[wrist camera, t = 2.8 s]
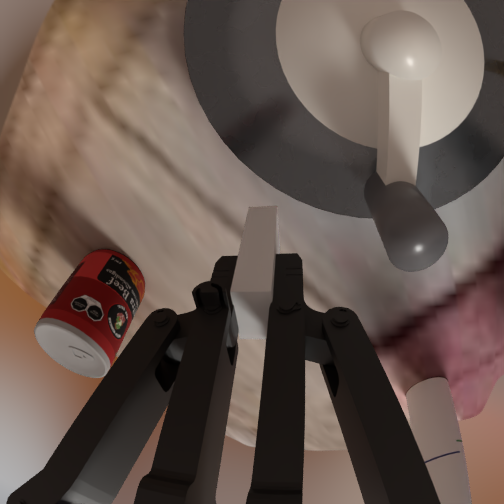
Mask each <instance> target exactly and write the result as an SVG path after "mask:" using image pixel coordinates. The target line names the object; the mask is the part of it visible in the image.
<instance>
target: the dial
mask: <svg viewBox="0 0 504 504" xmlns="http://www.w3.org/2000/svg"><path fill="white" fill-rule="evenodd" d="M276 45H277V51H278V56H279V60H280V63H281V66H282V69H283V72H284V74H285V76H286V78H287V81H288V83H289V85H290V86H291V88H292V90H293V91H294V93H295V94H296V96H297V98H298V99H299V100H300V101H301V103H302V104H303V105H304V106H305V108H306V109H307V110H308V111H309V112H310V113H311V114H312V115H313V116H314V117H315V118H316V119H317V120H319V121H320V122H321V123H322V124H324V125H325V126H326V127H327V128H329V129H331V130H332V131H334V132H335V133H337V134H338V135H340V136H342V137H344V138H346V139H348V140H350V141H352V142H355V143H358V144H361V145H364V146H368V147H372V148H377V168H376V172H374V173H373V174H372V175H371V176H370V177H369V179H368V180H367V182H366V184H365V187H364V198H365V201H366V204H367V206H368V208H369V210H370V213H371V215H372V217H373V220H374V222H375V225H376V227H377V229H378V232H379V234H380V237H381V239H382V242H383V244H384V247H385V249H386V252H387V255H388V257H389V260H390V261H391V263H392V264H393V265H394V266H395V267H397V268H398V269H401V270H403V271H409V272H414V271H420V270H423V269H426V268H428V267H430V266H431V265H433V264H434V263H435V262H436V261H438V260H439V258H440V257H441V256H442V255H443V253H444V251H445V249H446V247H447V244H448V231H447V228H446V226H445V224H444V223H443V221H442V220H441V218H440V217H439V216H438V214H437V213H436V211H435V210H434V209H433V207H432V206H431V205H430V203H429V202H428V201H427V199H426V198H425V197H424V196H423V194H422V193H421V192H420V190H419V189H418V188H417V187H416V177H417V168H418V158H419V147H422V146H426V145H429V144H431V143H433V142H436V141H438V140H440V139H441V138H443V137H445V136H446V135H448V134H449V133H451V132H452V131H453V130H454V129H455V128H457V127H458V126H459V125H460V124H461V123H462V121H463V120H464V119H465V118H466V117H467V115H468V114H469V112H470V111H471V109H472V108H473V106H474V104H475V102H476V100H477V98H478V95H479V92H480V89H481V86H482V81H483V75H484V50H483V44H482V39H481V35H480V32H479V29H478V26H477V23H476V21H475V19H474V17H473V15H472V13H471V11H470V9H469V8H468V6H467V4H466V3H465V1H464V0H282V1H281V4H280V7H279V11H278V15H277V22H276Z"/></svg>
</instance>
